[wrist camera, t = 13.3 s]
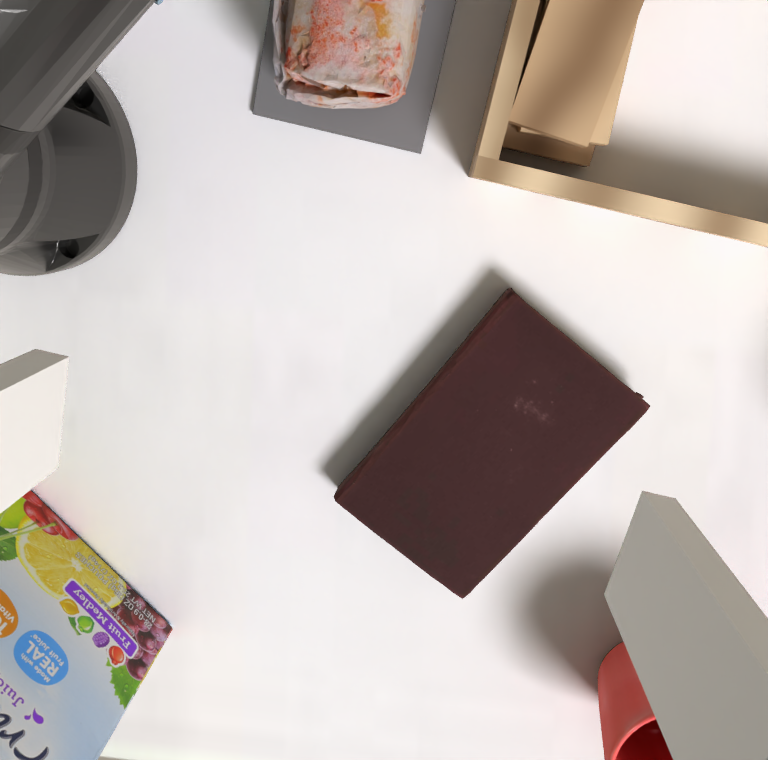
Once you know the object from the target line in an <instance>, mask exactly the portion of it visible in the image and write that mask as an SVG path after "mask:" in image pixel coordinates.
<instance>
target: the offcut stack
mask: <svg viewBox="0 0 768 760" xmlns="http://www.w3.org/2000/svg"><path fill="white" fill-rule="evenodd" d="M643 2H644V0H540V3H539V7H538V11H537V15H536V19H535V22H534V26H533V30H532V34H531V38H530V42H529V45H528V49H527V53H526V57H525V61H524V65H523V68H522V72H521V76H520V80H519V84H518V88H517V91H516V95H515V99H514V103H513V107H512V111H511V114H510V118H509V122H508V126H507V130H506V134H505V137H504V141H503V145H502V148H506V149H511V150H515V151H519V152H523V153H528V154H532V155H536V156H540V157H545V158H549V159H553V160H557V161H562V162H566V163H570V164H574V165H578V166H583V167H587V166H589V165H590V162H591V159H592V155H593V152H594V149H595V145H598V146H605V145H608V143H609V139H610V135H611V130H612V126H613V122H614V117H615V113H616V109H617V105H618V100H619V96H620V92H621V88H622V83H623V79H624V75H625V70H626V66H627V62H628V58H629V53H630V49H631V45H632V40H633V36H634V32H635V28H636V23H637V19H638V15H639V13H640V10H641V7H642V5H643Z"/></svg>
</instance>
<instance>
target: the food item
mask: <svg viewBox="0 0 768 760" xmlns="http://www.w3.org/2000/svg"><path fill="white" fill-rule="evenodd" d="M424 1H425V0H274V10H273V19H272V21H273V25H272V28H273V34H274V53H273V65H274V69H275V73H276V76H275V77H274V83H275V86H276V89H277V90H278V92H279V93H280V94H281V95H284V96H285V98H286V99H290V100H293V101H296V102H297V101H300V102H301V103H302V104H305V105H309V106H313V107H321V108H331V109H341V108H356V109H363V108H378V107H383V106H387V105H390V104H393V103H395V102H398V100H399V99H400V98H401V97H402V96H403V95H405V94H406V88H407V86H408V82H409V79H410V75H411V71H412V68H413V64H414V60H415V55H416V49H417V44H418V38H419V32H420V25H421V19H422V13H423V12H425V10H426V5H424Z"/></svg>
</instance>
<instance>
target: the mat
mask: <svg viewBox="0 0 768 760" xmlns="http://www.w3.org/2000/svg"><path fill="white" fill-rule="evenodd" d="M455 3H456V0H425V1H424V5H426V10H425V12H423V13H422V19H421V25H420V32H419V38H418V44H417V49H416V55H415V60H414V64H413V68H412V71H411V75H410V79H409V82H408V86H407V88H406V94H405V95H403V96H402V97H401V98H400V99H399V100H398V102H395V103H393V104H390V105H387V106H383V107H378V108H363V109H356V108H341V109H331V108H321V107H313V106H309V105H305V104H302V103H301V102H300V101H297V102H296V101H293V100H290V99H286V98H285V96H284V95H281V94H280V93H279V92H278V90H277V89H276V86H275V83H274V77H275V76H276V73H275V69H274V65H273V53H274V34H273V28H272V25H273V21H272V19H273V10H274V0H271V1H270V8H269V14H268V20H267V27H266V33H265V39H264V46H263V52H262V58H261V64H260V71H259V77H258V83H257V90H256V96H255V102H254V109H253V114H254V115H259V116H263V117H267V118H271V119H276V120H280V121H284V122H288V123H293V124H297V125H301V126H305V127H309V128H314V129H318V130H322V131H326V132H331V133H335V134H339V135H343V136H348V137H352V138H356V139H360V140H365V141H369V142H373V143H377V144H382V145H386V146H390V147H394V148H399V149H403V150H407V151H411V152H415V153H420V154H421V151H422V147H423V142H424V138H425V134H426V129H427V125H428V120H429V116H430V112H431V107H432V103H433V99H434V94H435V90H436V85H437V81H438V77H439V72H440V68H441V64H442V59H443V55H444V51H445V46H446V42H447V37H448V33H449V29H450V24H451V20H452V16H453V11H454V7H455Z"/></svg>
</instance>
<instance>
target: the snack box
mask: <svg viewBox="0 0 768 760" xmlns="http://www.w3.org/2000/svg"><path fill="white" fill-rule="evenodd" d="M171 631H172V627H171V626H170V625H169V624H168V623H167V622H166V621H165V620H164V619H163V618H162V617H161V616H160V615H158V614H157V613H156V612H155V611H154V610H153V609H152V608H151V607H150V606H149V605H148V604H147V603H146V602H145V601H144V600H143V599H142V598H141V597H140V596H139V595H138V594H137V593H136V592H135V591H134V590H133V589H131V588H130V587H129V586H128V585H127V584H126V583H125V582H124V581H123V580H122V579H121V578H120V577H119V576H118V575H117V574H116V573H115V572H114V571H113V570H112V569H111V568H110V567H109V566H108V565H107V564H106V563H105V562H104V561H103V560H102V559H101V558H100V557H99V556H97V555H96V554H95V553H94V552H93V551H92V550H91V549H90V548H89V547H88V546H87V545H86V544H85V543H84V542H83V541H82V540H81V539H80V538H79V537H78V536H77V535H76V534H75V533H74V532H73V531H72V530H71V529H70V528H69V527H68V526H67V525H66V524H65V523H64V522H63V521H62V520H61V519H60V518H59V517H58V516H57V515H56V514H54V513H53V512H52V511H51V510H50V509H49V508H48V507H47V506H46V505H45V504H44V503H43V502H42V501H41V500H40V499H39V498H38V497H37V496H36V495H35V494H34V493H33V492H32V491H31V490H30V491H28V492H27V493H26V494H25V495H23V496H22V497H21V498H20V499H18V500H17V501H16V502H14V503H13V504H12V505H11V506H9V507H8V508H7V509H6V510H4V511H3V512H2V513H1V514H0V760H98V758H99V756H100V754H101V753H102V751H103V749H104V747H105V746H106V744H107V742H108V740H109V739H110V737H111V735H112V733H113V732H114V730H115V728H116V726H117V725H118V723H119V721H120V719H121V718H122V716H123V714H124V712H125V711H126V709H127V707H128V705H129V704H130V702H131V700H132V699H133V697H134V695H135V693H136V692H137V690H138V688H139V687H140V685H141V683H142V681H143V680H144V678H145V677H146V675H147V673H148V671H149V669H150V668H151V666H152V664H153V662H154V660H155V659H156V657H157V655H158V654H159V652H160V650H161V648H162V647H163V645H164V643H165V641H166V640H167V638H168V636H169V635H170V633H171Z"/></svg>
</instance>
